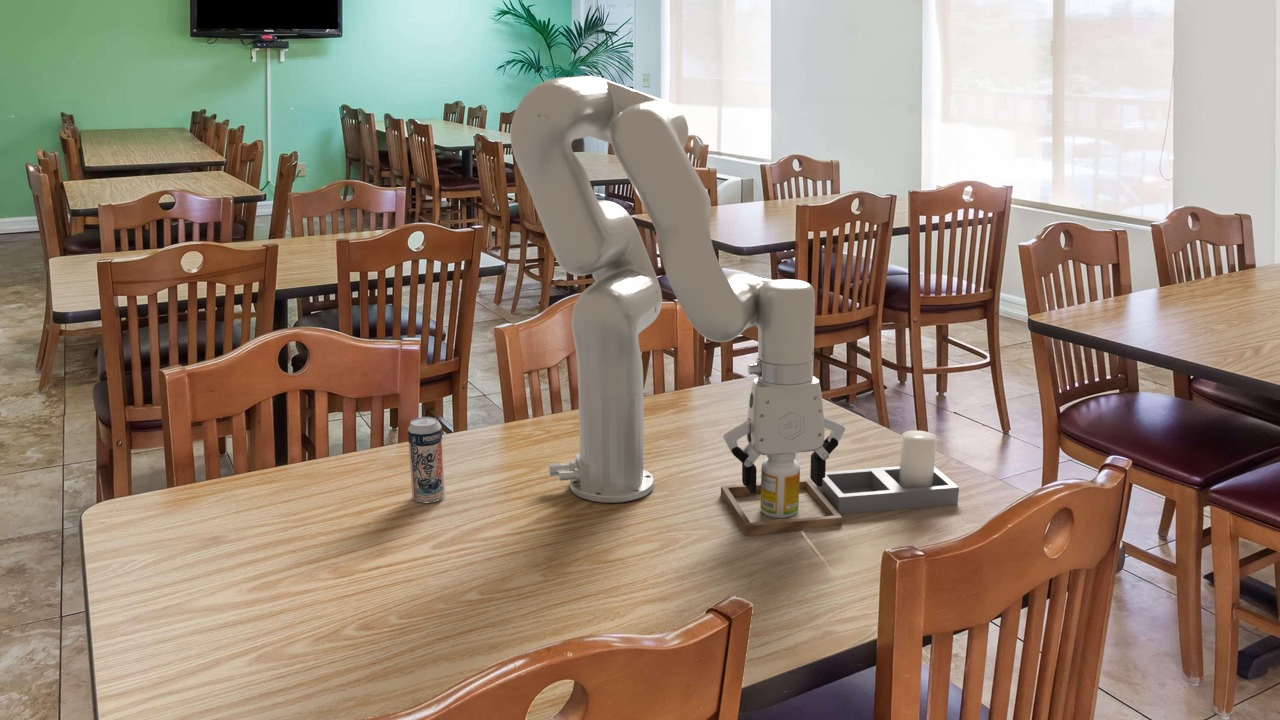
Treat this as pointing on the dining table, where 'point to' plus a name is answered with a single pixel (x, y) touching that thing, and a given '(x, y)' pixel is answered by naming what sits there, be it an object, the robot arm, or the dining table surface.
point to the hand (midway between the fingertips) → (783, 486)
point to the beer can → (426, 459)
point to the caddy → (883, 491)
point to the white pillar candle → (917, 459)
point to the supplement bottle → (780, 485)
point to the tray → (779, 525)
